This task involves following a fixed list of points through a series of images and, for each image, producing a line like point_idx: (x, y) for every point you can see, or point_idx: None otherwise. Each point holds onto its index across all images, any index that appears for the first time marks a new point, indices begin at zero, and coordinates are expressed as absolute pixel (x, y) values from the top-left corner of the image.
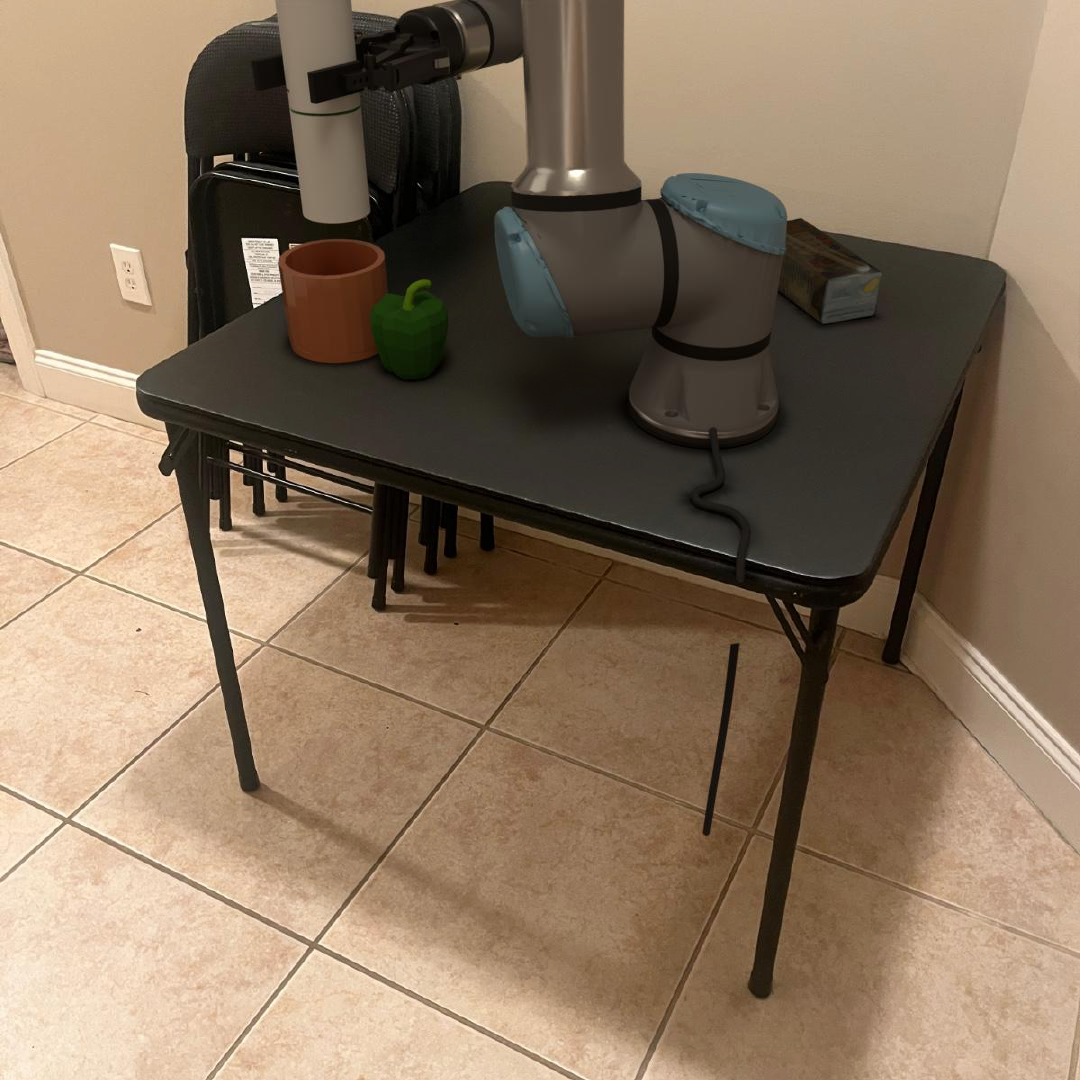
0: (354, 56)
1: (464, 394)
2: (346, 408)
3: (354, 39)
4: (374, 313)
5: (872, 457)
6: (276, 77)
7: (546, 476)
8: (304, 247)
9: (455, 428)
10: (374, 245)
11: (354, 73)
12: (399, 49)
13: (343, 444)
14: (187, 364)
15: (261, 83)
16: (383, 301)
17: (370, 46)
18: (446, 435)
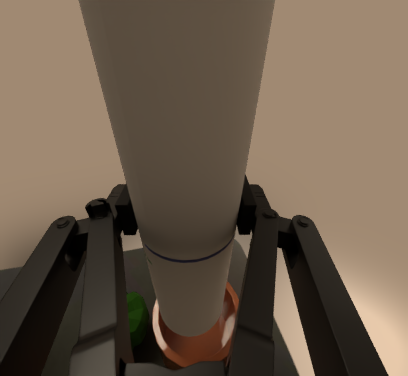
0: (132, 204)
1: (77, 329)
2: (140, 273)
3: (133, 193)
4: (134, 292)
5: None
6: None
7: (10, 285)
8: (235, 314)
9: (73, 292)
10: (186, 365)
11: (114, 194)
12: (79, 340)
13: (124, 251)
14: (239, 257)
15: None
16: (138, 311)
17: (222, 362)
18: (76, 284)
